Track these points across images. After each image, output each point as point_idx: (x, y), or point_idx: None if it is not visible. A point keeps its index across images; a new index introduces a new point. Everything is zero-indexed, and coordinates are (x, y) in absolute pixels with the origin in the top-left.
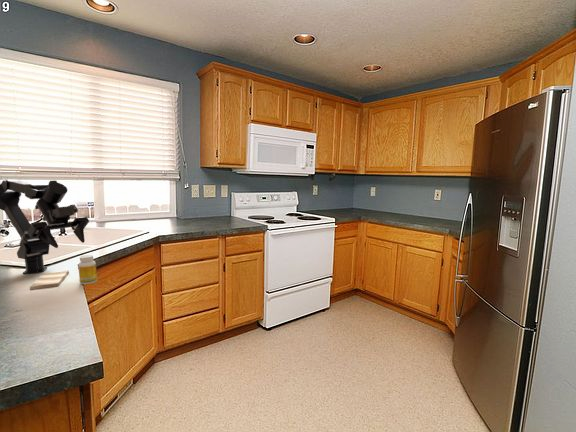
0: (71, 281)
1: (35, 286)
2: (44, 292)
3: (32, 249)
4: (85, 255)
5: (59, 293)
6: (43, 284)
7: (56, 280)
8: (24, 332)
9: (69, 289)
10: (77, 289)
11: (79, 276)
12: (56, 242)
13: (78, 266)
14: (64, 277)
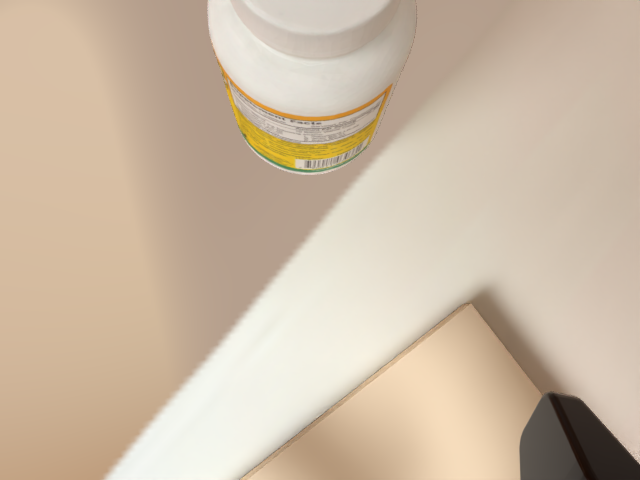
0: (327, 296)
1: None
2: (626, 274)
3: None
4: (268, 5)
5: (609, 118)
6: None
7: (409, 404)
8: None
9: (511, 117)
10: (493, 46)
11: (383, 114)
12: (598, 474)
13: (400, 70)
14: (261, 464)
